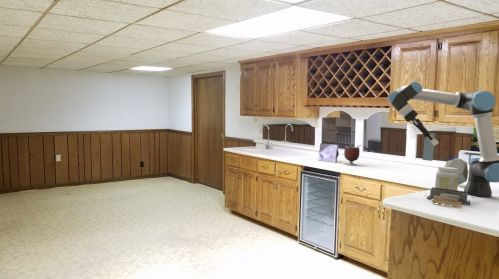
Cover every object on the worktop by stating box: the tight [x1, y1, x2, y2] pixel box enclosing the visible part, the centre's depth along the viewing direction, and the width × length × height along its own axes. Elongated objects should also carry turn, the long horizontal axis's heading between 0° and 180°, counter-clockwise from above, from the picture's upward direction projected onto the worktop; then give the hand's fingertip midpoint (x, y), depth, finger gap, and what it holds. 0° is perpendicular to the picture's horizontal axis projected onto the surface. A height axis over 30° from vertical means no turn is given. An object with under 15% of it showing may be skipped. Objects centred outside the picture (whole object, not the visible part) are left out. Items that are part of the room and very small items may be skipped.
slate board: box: [422, 132, 436, 162], centre depth 221 cm, size 3×5×16 cm, turn 60°
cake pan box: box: [318, 143, 340, 164], centre depth 380 cm, size 19×5×18 cm, turn 58°
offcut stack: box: [432, 193, 462, 208], centre depth 203 cm, size 8×13×5 cm, turn 59°
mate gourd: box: [343, 144, 362, 167], centre depth 362 cm, size 16×14×20 cm
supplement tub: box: [434, 166, 459, 191], centre depth 230 cm, size 12×12×17 cm
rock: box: [443, 157, 469, 186], centre depth 273 cm, size 27×6×20 cm, turn 1°
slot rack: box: [426, 186, 471, 206], centre depth 213 cm, size 8×21×6 cm, turn 59°
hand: (436, 144), depth 219 cm, fingers closed on slate board, 3 cm apart
